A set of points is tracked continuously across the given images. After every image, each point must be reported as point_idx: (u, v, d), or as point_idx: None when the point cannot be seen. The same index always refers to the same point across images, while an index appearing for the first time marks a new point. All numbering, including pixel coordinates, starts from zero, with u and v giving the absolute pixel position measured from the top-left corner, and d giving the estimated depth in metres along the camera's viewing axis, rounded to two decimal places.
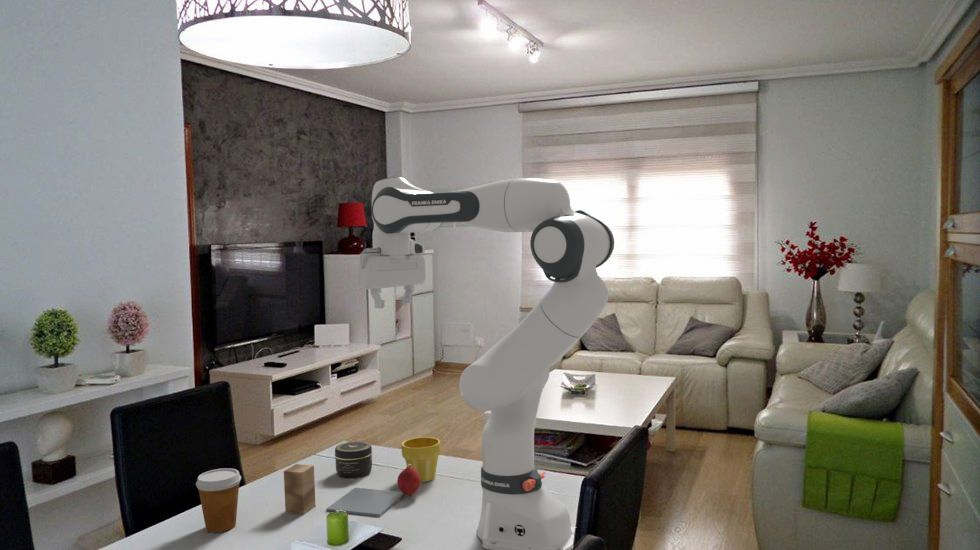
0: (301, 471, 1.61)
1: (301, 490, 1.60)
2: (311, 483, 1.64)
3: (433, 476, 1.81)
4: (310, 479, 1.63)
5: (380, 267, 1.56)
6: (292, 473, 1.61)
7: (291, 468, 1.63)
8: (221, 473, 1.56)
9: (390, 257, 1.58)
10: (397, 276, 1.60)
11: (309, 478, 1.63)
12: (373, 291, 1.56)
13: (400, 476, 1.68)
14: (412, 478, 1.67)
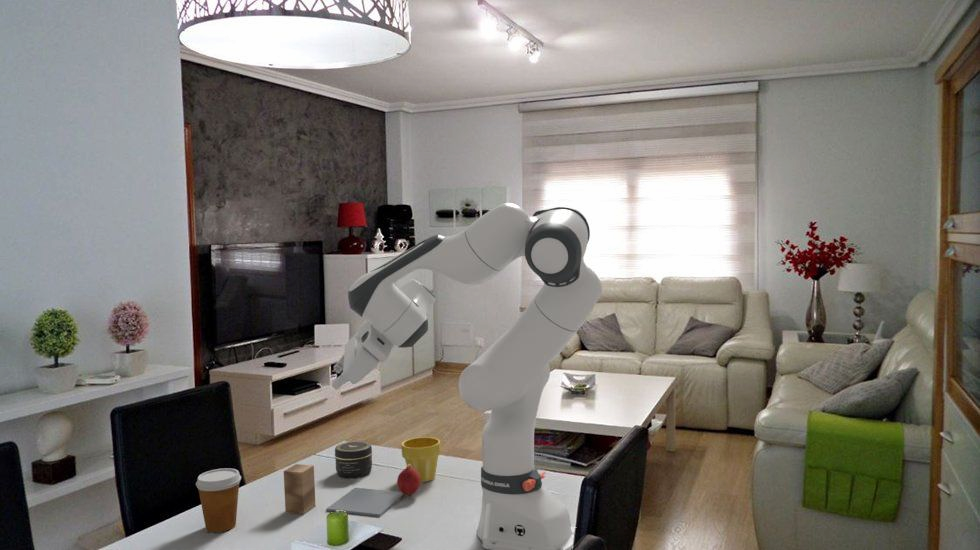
0: (301, 471, 1.61)
1: (301, 490, 1.60)
2: (311, 483, 1.64)
3: (433, 476, 1.81)
4: (310, 479, 1.63)
5: None
6: (292, 473, 1.61)
7: (291, 468, 1.63)
8: (221, 473, 1.56)
9: None
10: (350, 351, 1.57)
11: (309, 478, 1.63)
12: None
13: (400, 476, 1.68)
14: (411, 478, 1.67)
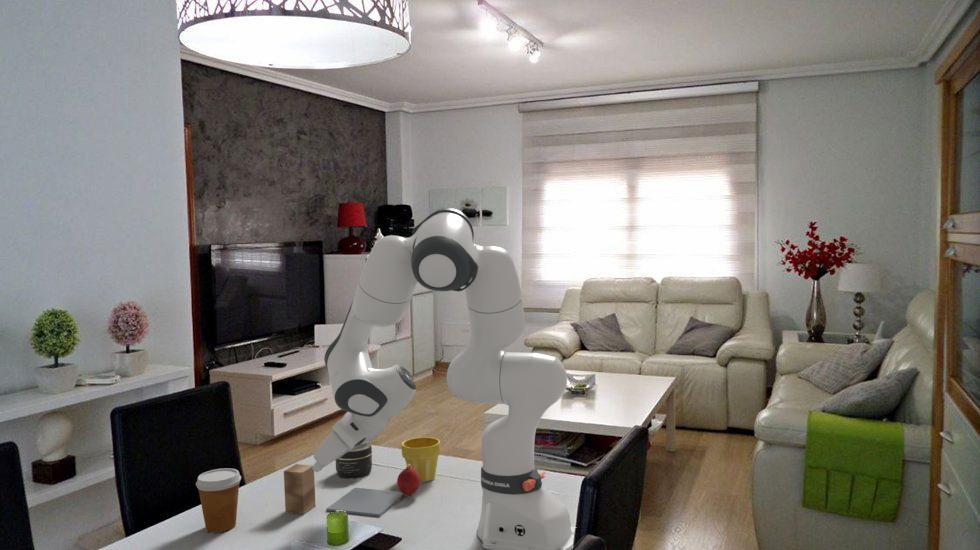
0: (301, 471, 1.61)
1: (301, 490, 1.60)
2: (311, 483, 1.64)
3: (433, 476, 1.81)
4: (310, 479, 1.63)
5: None
6: (292, 473, 1.61)
7: (291, 468, 1.63)
8: (221, 473, 1.56)
9: None
10: None
11: (309, 478, 1.63)
12: None
13: (400, 476, 1.68)
14: (411, 478, 1.67)
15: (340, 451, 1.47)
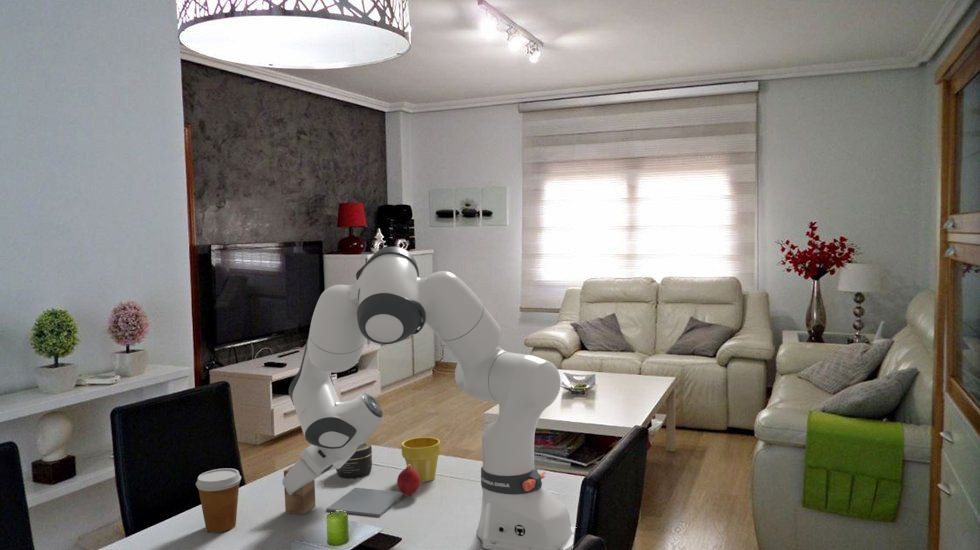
0: None
1: (301, 490, 1.60)
2: (311, 483, 1.64)
3: (433, 476, 1.81)
4: None
5: None
6: None
7: None
8: (221, 473, 1.56)
9: None
10: None
11: None
12: None
13: (400, 476, 1.68)
14: (411, 478, 1.67)
15: (307, 478, 1.52)
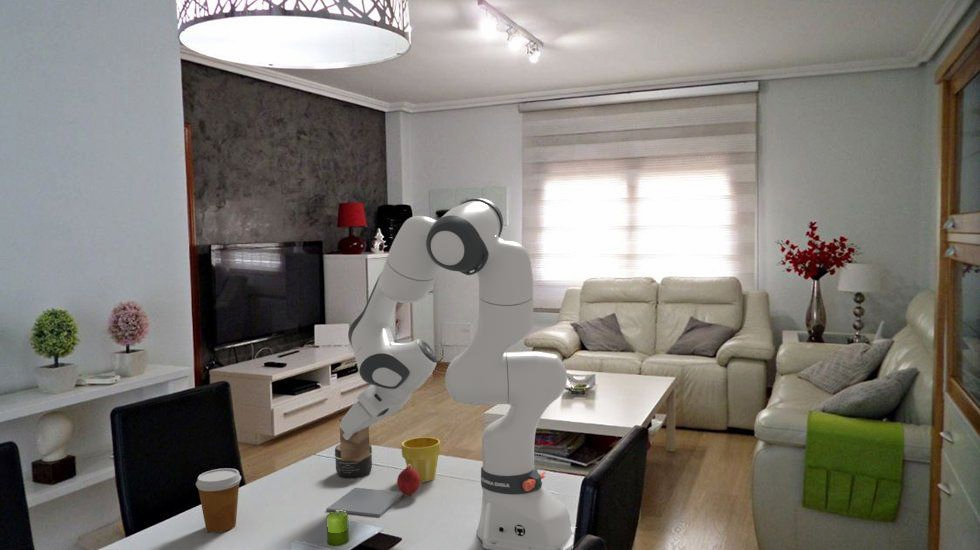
0: None
1: (356, 437, 1.63)
2: (366, 432, 1.67)
3: (433, 476, 1.81)
4: (365, 428, 1.66)
5: None
6: None
7: None
8: (221, 473, 1.56)
9: None
10: None
11: None
12: None
13: (400, 476, 1.68)
14: (411, 478, 1.67)
15: (364, 420, 1.55)
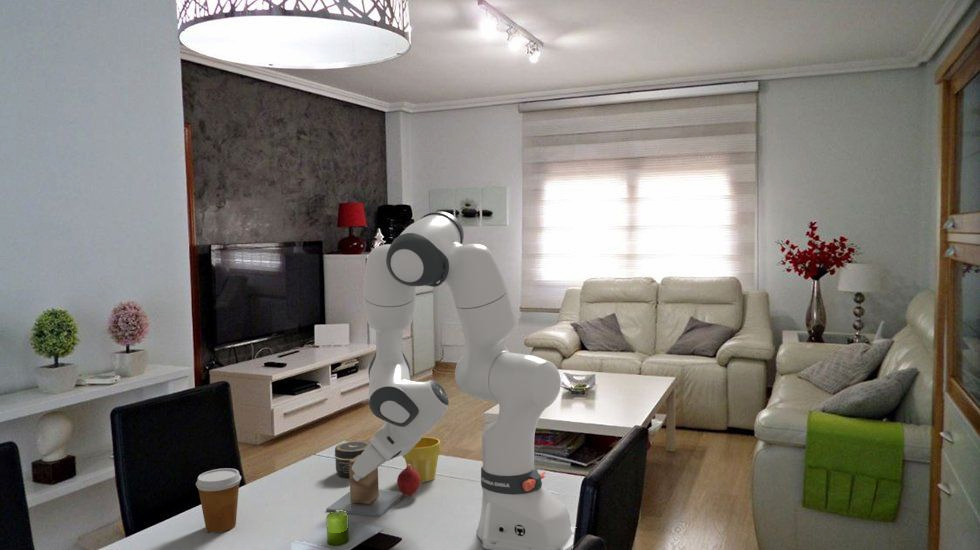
0: None
1: (367, 480, 1.63)
2: (375, 473, 1.66)
3: (433, 476, 1.81)
4: None
5: None
6: None
7: (356, 458, 1.66)
8: (221, 473, 1.56)
9: None
10: None
11: None
12: None
13: (400, 476, 1.68)
14: (411, 478, 1.67)
15: (377, 464, 1.54)
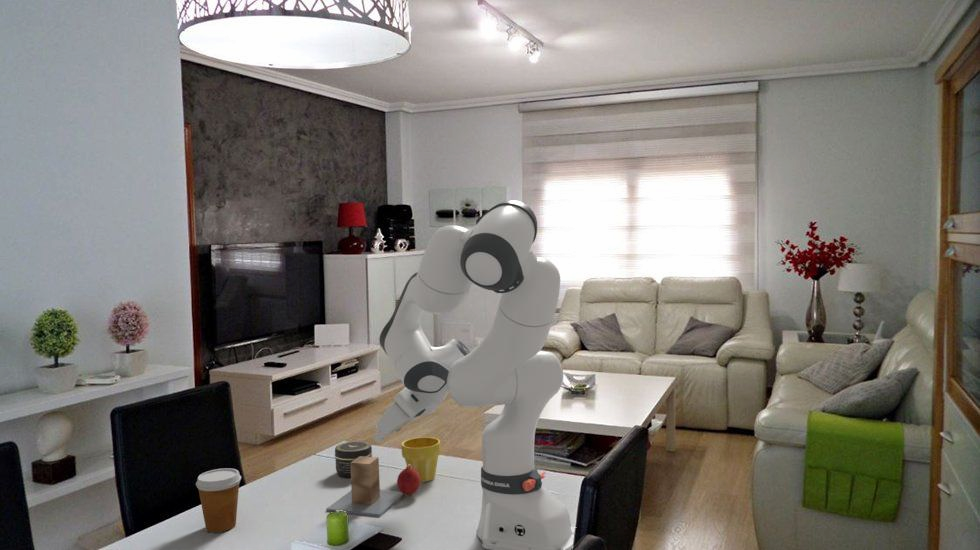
0: (368, 462, 1.64)
1: (368, 481, 1.63)
2: (376, 474, 1.67)
3: (433, 476, 1.81)
4: (375, 470, 1.66)
5: None
6: (359, 465, 1.64)
7: (357, 460, 1.66)
8: (221, 473, 1.56)
9: None
10: None
11: (375, 469, 1.66)
12: None
13: (400, 476, 1.68)
14: (411, 478, 1.67)
15: (401, 421, 1.53)
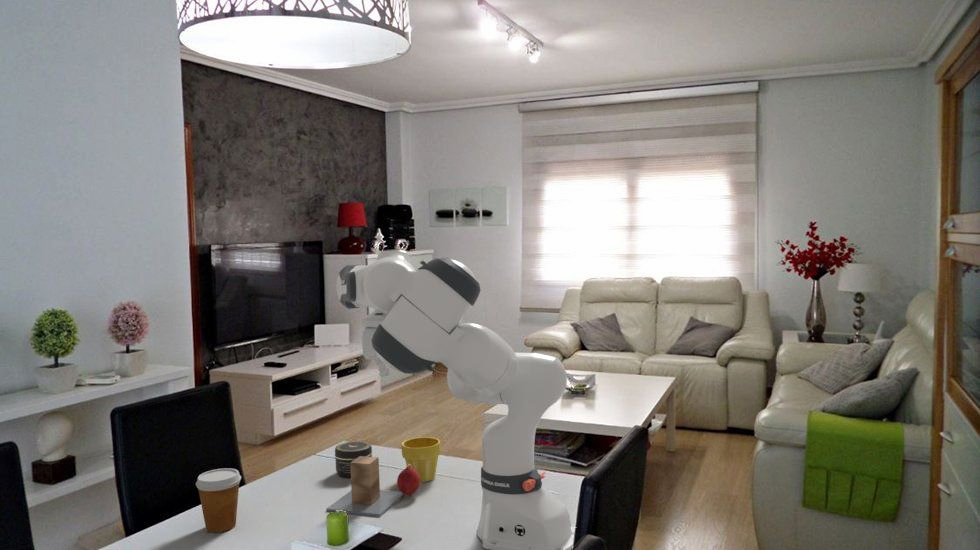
0: (368, 462, 1.64)
1: (368, 481, 1.63)
2: (376, 474, 1.67)
3: (433, 476, 1.81)
4: (375, 470, 1.66)
5: None
6: (359, 465, 1.64)
7: (357, 460, 1.66)
8: (221, 473, 1.56)
9: None
10: None
11: (375, 469, 1.66)
12: None
13: (400, 476, 1.68)
14: (411, 478, 1.67)
15: None
